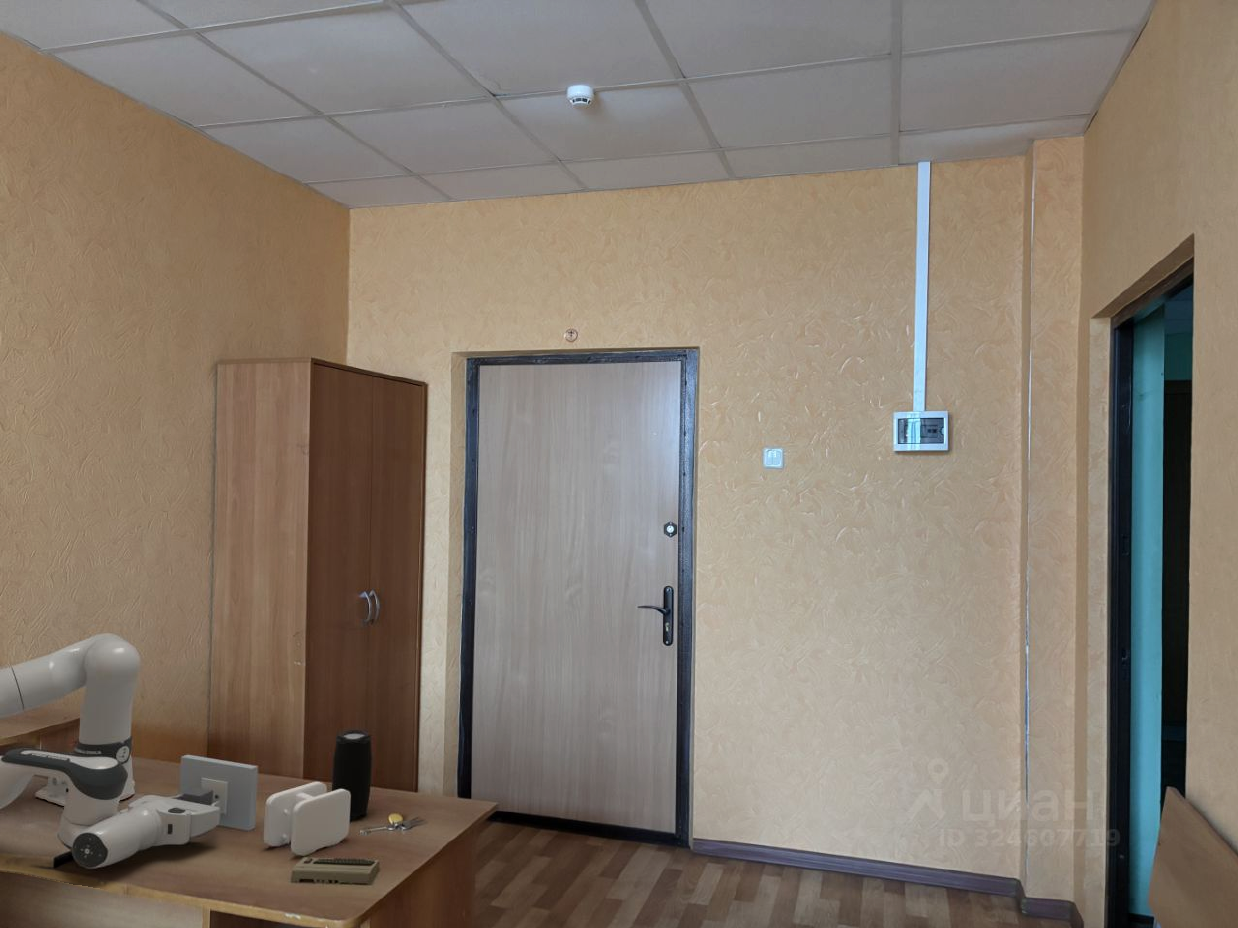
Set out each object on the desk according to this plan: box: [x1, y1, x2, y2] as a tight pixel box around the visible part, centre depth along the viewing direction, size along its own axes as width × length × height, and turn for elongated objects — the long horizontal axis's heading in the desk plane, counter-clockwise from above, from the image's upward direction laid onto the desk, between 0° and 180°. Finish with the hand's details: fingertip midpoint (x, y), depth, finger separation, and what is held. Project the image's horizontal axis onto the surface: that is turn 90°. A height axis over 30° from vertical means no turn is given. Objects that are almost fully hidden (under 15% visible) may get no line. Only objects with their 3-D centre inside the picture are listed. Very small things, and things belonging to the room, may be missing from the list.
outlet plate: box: [178, 754, 259, 832], centre depth 206 cm, size 20×2×14 cm, turn 73°
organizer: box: [263, 781, 351, 857], centre depth 197 cm, size 15×11×12 cm
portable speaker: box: [331, 728, 373, 822], centre depth 214 cm, size 9×9×20 cm
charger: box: [183, 788, 213, 838], centre depth 201 cm, size 4×5×9 cm
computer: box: [290, 856, 380, 886], centre depth 182 cm, size 16×8×3 cm, turn 91°
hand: (200, 801), depth 201 cm, fingers open, 8 cm apart
